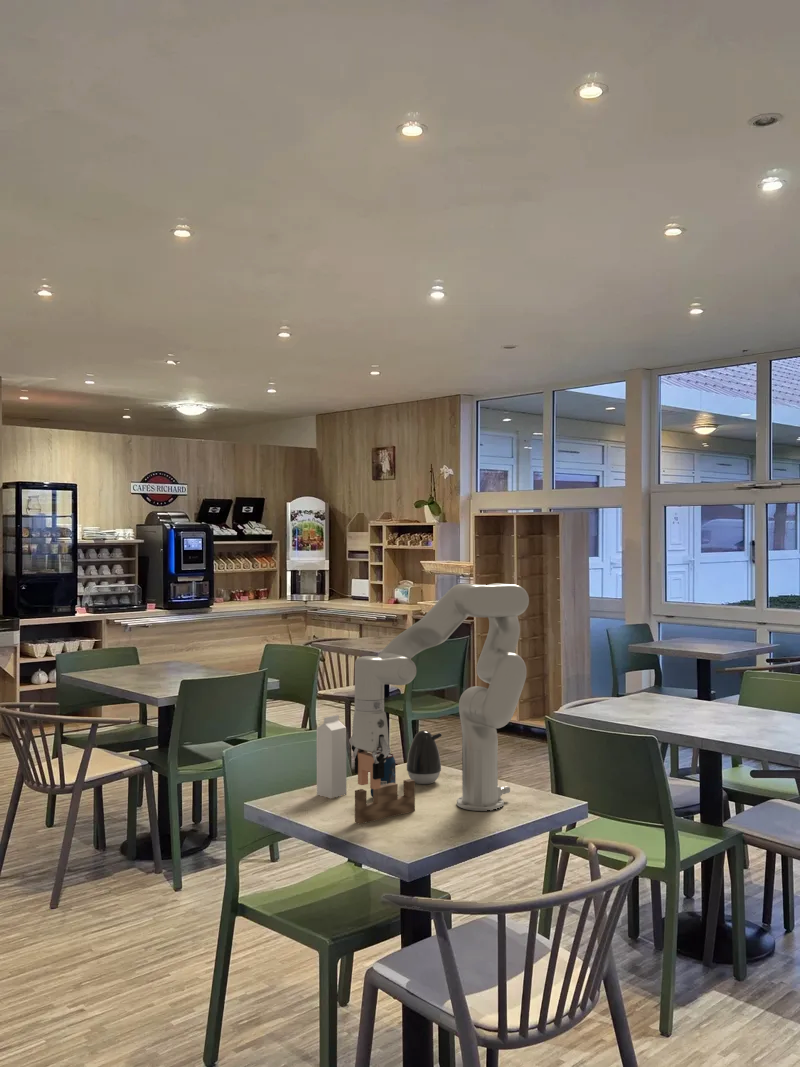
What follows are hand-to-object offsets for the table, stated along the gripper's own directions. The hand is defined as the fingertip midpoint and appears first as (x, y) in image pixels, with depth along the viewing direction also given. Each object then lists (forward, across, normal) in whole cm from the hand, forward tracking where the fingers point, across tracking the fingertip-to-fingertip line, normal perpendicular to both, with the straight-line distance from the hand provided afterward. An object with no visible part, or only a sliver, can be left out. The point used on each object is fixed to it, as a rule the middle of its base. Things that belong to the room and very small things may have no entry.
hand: (369, 775), depth 232 cm
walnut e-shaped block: (+11, 0, -5) cm, 13 cm away
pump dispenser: (+11, +20, -35) cm, 42 cm away
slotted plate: (+3, 0, 0) cm, 3 cm away
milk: (+12, +26, -6) cm, 29 cm away
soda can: (+12, +14, -15) cm, 24 cm away
